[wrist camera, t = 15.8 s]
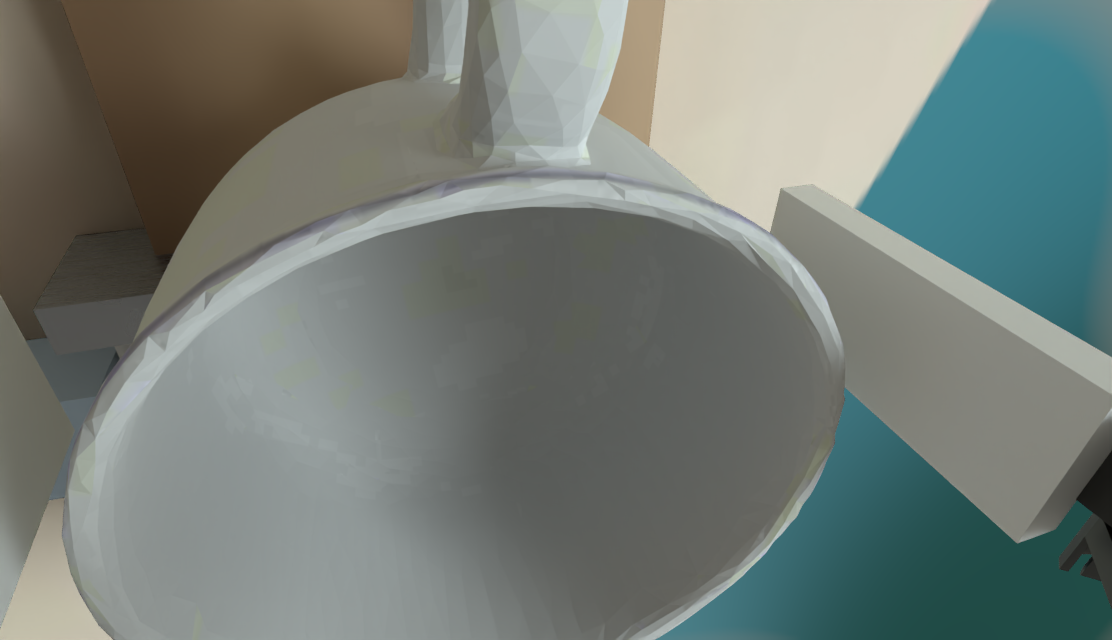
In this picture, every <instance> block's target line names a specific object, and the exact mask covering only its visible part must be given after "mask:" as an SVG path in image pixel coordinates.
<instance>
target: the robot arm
mask: <svg viewBox="0 0 1112 640" xmlns="http://www.w3.org/2000/svg"><path fill="white" fill-rule="evenodd" d="M770 233H771V234H772V235H773V236H774V237H775V238H776V239H777V240H778V241H779V242H780V243H781V244H782V245H783V246H784V247H785V248H786V249H787V250H788V251H789V252H790V253H791V254H792V255H793V256H794V257H795V258H796V259H797V260H798V261H799V262H800V263H801V264H802V265H803V266H804V267H805V269H806V270H807V271H808V272H809V274H810V275H811V276H812V278H813V279H814V280H815V281H816V283H817V285H818V286H819V288H820V289H821V291H822V293H823V294H824V296H825V297H826V299H827V302H828V305H829V308H830V311H831V314H832V316H833V319H834V321H835V324H836V326H837V329H838V331H839V334H840V337H841V339H842V342H843V347H844V357H845V386H844V387H845V388H847V389H848V390H849V391H850V392H851V393H852V394H853V395H854V396H855V397H856V398H858V399H859V400H860V401H861V402H862V403H863V404H864V405H865V406H866V407H867V408H869V409H870V410H871V411H872V412H873V413H874V414H875V415H876V416H877V417H878V418H880V419H881V420H882V421H883V422H884V423H885V424H886V425H887V426H888V427H890V428H891V429H892V430H893V431H894V432H895V433H896V434H897V435H898V436H900V437H901V438H902V439H903V440H904V441H905V442H906V443H907V444H908V445H909V446H911V447H912V448H913V449H914V450H915V451H916V452H917V453H918V454H919V455H920V456H921V457H923V458H924V459H925V460H926V461H927V462H928V463H929V464H930V465H932V466H933V467H934V468H935V469H936V470H937V471H938V472H939V473H940V474H941V475H942V476H944V477H945V478H946V479H947V480H948V481H949V482H950V483H951V484H953V485H954V486H955V487H956V488H957V489H958V490H959V491H960V492H961V493H963V494H964V495H965V496H966V497H967V498H968V499H969V500H970V501H972V503H973V504H975V505H976V506H977V507H978V508H979V509H980V510H981V511H982V512H983V513H984V514H986V515H987V516H988V517H989V518H990V519H991V520H992V521H993V522H994V523H996V524H997V525H998V526H999V527H1000V528H1001V529H1002V530H1003V531H1004V532H1005V533H1007V534H1008V535H1009V536H1010V537H1011V538H1012V539H1013V540H1014V541H1016V543H1019V542H1022V541H1025V540H1028V539H1030V538H1033V537H1035V536H1038V535H1041V534H1043V533H1047V532H1049V531H1052V530H1055V529H1056V528H1057V526H1058V525H1059V524H1060V522H1061V521H1062V520H1063V518H1064V517H1065V515H1066V514H1067V513H1068V511H1069V510H1070V508H1071V507H1072V506H1073V505H1074V503H1075V502H1076V501H1077V500H1078V501H1079V502H1080V503H1082V504H1083V505H1084V506H1085V507H1086V508H1088V509H1089V510H1090V511H1092V512H1093V514H1092V515H1091V516H1090V518H1089V519H1088V520H1087V522H1086V523H1085V524H1084V525H1083V527H1082V528H1081V529H1080V531H1079V532H1078V533H1077V535H1076V536H1075V537H1074V538H1073V540H1072V541H1071V542H1070V544H1069V545H1068V546H1067V548H1066V549H1065V550H1064V552H1063V553H1062V554H1061V555H1060V557H1059V569H1061V570H1065V571H1069V569H1070V568H1071V567H1072V566H1073V565H1074V563H1075V562H1076V561H1077V560H1078V559H1079V557H1080V556H1081V555H1082V554H1091V555H1092V557H1091V558H1090V559H1089V561H1088V562H1087V563H1086V564H1085V565H1084V567H1083V568H1082V570H1081V573H1080V574H1081V575H1082V576H1085V577H1089V578H1092V579H1096V580H1100V581H1102V584H1103V587H1104V589H1105V592H1106V595H1107V597H1108V600H1109V603H1110V605H1111V608H1112V357H1110V356H1108V355H1106V354H1105V353H1103V352H1101V351H1100V350H1098V349H1096V348H1094V347H1092V346H1091V345H1089V344H1087V343H1086V342H1084V341H1082V340H1080V339H1079V338H1077V337H1075V336H1074V335H1072V334H1070V333H1068V332H1067V331H1065V330H1063V329H1061V328H1060V327H1058V326H1056V325H1054V324H1053V323H1051V322H1049V321H1047V320H1046V319H1044V318H1043V317H1041V316H1039V315H1037V314H1036V313H1034V312H1032V311H1030V310H1029V309H1027V308H1025V307H1024V306H1022V305H1020V304H1018V303H1017V302H1015V301H1013V300H1011V299H1010V298H1008V297H1006V296H1004V295H1002V294H1001V293H999V292H998V291H996V290H994V289H992V288H991V287H989V286H987V285H985V284H984V283H982V282H980V281H979V280H977V279H975V278H973V277H972V276H970V275H968V274H966V273H965V272H963V271H961V270H960V269H958V268H956V267H954V266H952V265H951V264H949V263H947V262H946V261H944V260H942V259H941V258H939V257H937V256H935V255H934V254H932V253H930V252H928V251H927V250H925V249H923V248H921V247H920V246H918V245H916V244H915V243H913V242H911V241H909V240H908V239H906V238H904V237H903V236H901V235H899V234H897V233H896V232H894V231H892V230H890V229H889V228H887V227H885V226H883V225H882V224H880V223H878V222H877V221H875V220H873V219H871V218H870V217H868V216H866V215H864V214H863V213H861V212H859V211H858V210H856V209H854V208H852V207H851V206H849V205H847V204H845V203H844V202H842V201H840V200H839V199H837V198H835V197H833V196H832V195H830V194H828V193H826V192H825V191H823V190H821V189H820V188H818V187H816V186H814V185H813V184H811V185H803V186H796V187H788V188H781V190H780V194H779V198H778V202H777V207H776V211H775V215H774V219H773V223H772V227H771V231H770ZM74 432H75V429H74V428H73V426H72V424H71V422H70V420H69V418H68V417H67V415H66V413H65V411H64V409H63V408H62V406H61V404H60V402H59V400H58V398H57V397H56V395H55V393H54V391H53V389H52V388H51V386H50V384H49V382H48V380H47V378H46V377H45V375H44V373H43V371H42V369H41V368H40V366H39V364H38V362H37V360H36V358H35V357H34V355H33V353H32V351H31V349H30V348H29V346H28V344H27V342H26V340H25V338H24V337H23V335H22V333H21V331H20V329H19V328H18V326H17V324H16V322H15V320H14V318H13V317H12V315H11V313H10V311H9V309H8V307H7V306H6V304H5V302H4V300H3V298H2V297H1V295H0V628H1V625H2V623H3V620H4V617H5V615H6V612H7V609H8V607H9V604H10V601H11V599H12V596H13V593H14V591H15V588H16V585H17V583H18V580H19V577H20V575H21V572H22V570H23V567H24V564H25V562H26V559H27V556H28V554H29V551H30V548H31V546H32V543H33V540H34V538H35V535H36V532H37V530H38V527H39V524H40V522H41V519H42V517H43V514H44V511H45V509H46V506H47V503H48V501H49V498H50V495H51V493H52V490H53V487H54V485H55V482H56V479H57V477H58V474H59V471H60V469H61V466H62V463H63V461H64V458H65V456H66V453H67V450H68V448H69V445H70V442H71V440H72V437H73V434H74Z"/></svg>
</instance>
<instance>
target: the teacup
mask: <svg viewBox="0 0 1112 640" xmlns="http://www.w3.org/2000/svg"><path fill="white" fill-rule="evenodd" d="M628 1H629V0H413V29H412V38H411V45H410V52H409V60H408V68H407V72H406V73H405V74H404V76H403V77H402V78H397V79H392V80H387V81H382V82H378V83H375V84H372V85H368V86H365V87H362V88H358V89H355V90H352V91H348V92H346V93H343V94H341V95H338V96H335V97H333V98H330V99H328V100H326V101H324V102H322V103H320V104H318V105H316V106H314V107H312V108H310V109H308V110H306V111H304V112H302V113H300V114H299V115H297V116H295V117H294V118H292V119H291V120H289V121H287V122H286V123H284V124H283V125H281V126H279V127H278V128H276V129H274V130H273V131H272V132H271V133H269V134H268V135H267V136H266V137H265V138H264V139H262V140H261V141H260V142H259V143H258V144H256V145H255V146H254V147H253V148H252V149H251V150H249V151H248V152H247V153H246V154H245V155H244V156H243V157H242V158H241V159H240V160H239V161H238V162H237V163H236V164H235V165H234V166H233V167H232V168H231V169H230V170H229V172H228V173H227V174H226V175H225V176H224V177H223V179H222V180H221V181H220V182H219V183H218V185H217V186H216V187H215V189H214V190H213V191H212V192H211V194H210V195H209V196H208V198H207V199H206V200H205V202H204V203H203V205H202V206H201V208H200V210H199V211H198V213H197V215H196V216H195V218H194V220H193V221H192V223H191V224H190V226H189V228H188V229H187V231H186V233H185V234H184V236H183V238H182V239H181V241H180V243H179V244H178V246H177V248H176V250H175V252H174V254H173V256H172V258H171V260H170V262H169V264H168V266H167V268H166V270H165V272H164V274H163V276H162V278H161V280H160V282H159V284H158V287H157V289H156V291H155V293H154V295H153V297H152V299H151V301H150V303H149V305H148V307H147V309H146V311H145V314H144V316H143V319H142V321H141V323H140V326H139V328H138V331H137V333H136V335H135V338H134V340H133V343H132V344H131V345H130V346H129V348H128V349H127V350H126V352H125V353H124V354H123V356H122V357H121V358H120V360H119V361H118V362H117V364H116V365H115V366H114V368H113V369H112V370H111V372H110V373H109V375H108V376H107V378H106V379H105V381H104V383H103V384H102V386H101V388H100V390H99V392H98V394H97V396H96V398H95V400H94V402H93V404H92V406H91V408H90V410H89V412H88V414H87V416H86V418H85V420H84V422H83V424H82V426H81V428H80V430H79V432H78V434H77V436H76V439H75V442H74V445H73V449H72V452H71V456H70V460H69V463H68V469H67V479H66V489H65V500H64V514H63V528H62V538H63V542H64V546H65V551H66V555H67V559H68V564H69V568H70V572H71V575H72V577H73V580H74V582H75V584H76V586H77V589H78V591H79V593H80V595H81V597H82V599H83V600H84V602H85V604H86V605H87V607H88V608H89V610H90V612H91V613H92V615H93V617H94V618H95V620H96V622H97V623H98V625H99V626H100V627H101V628H102V629H103V630H104V631H105V632H106V633H107V634H108V635H109V636H110V637H111V638H112V639H113V640H654V639H657V638H659V637H660V636H662V635H664V634H665V633H667V632H668V631H670V630H672V629H673V628H675V627H676V626H677V625H679V624H680V623H682V622H683V621H685V620H686V619H687V618H689V617H690V616H692V615H693V614H694V613H696V612H697V611H698V610H700V609H701V608H702V607H704V606H705V605H706V604H708V603H709V602H710V601H712V600H713V599H714V598H716V597H717V596H718V595H720V594H721V593H722V592H723V591H725V590H726V589H727V588H728V587H730V586H731V585H732V584H733V583H735V582H736V581H737V580H738V579H739V578H740V577H742V576H743V575H744V574H745V573H746V572H747V571H748V570H749V568H751V567H752V566H753V565H754V564H755V563H756V562H757V561H758V560H759V559H760V558H761V557H762V556H763V555H764V554H765V553H766V552H767V550H768V549H769V548H770V546H771V545H772V543H773V542H774V541H775V540H776V539H777V538H778V537H779V536H780V535H781V534H782V533H783V532H784V531H785V529H786V528H787V527H788V525H789V524H790V523H791V522H792V521H793V520H794V519H795V518H796V517H797V515H798V513H799V511H800V509H801V507H802V505H803V503H804V502H805V501H806V500H807V498H808V497H809V496H810V494H811V493H812V491H813V489H814V487H815V485H816V483H817V481H818V479H819V477H820V475H821V473H822V471H823V469H824V466H825V463H826V461H827V458H828V457H829V455H830V453H831V450H832V448H833V446H834V444H835V432H836V428H837V425H838V422H839V418H840V415H841V412H842V408H843V405H844V401H845V398H844V386H845V357H844V347H843V342H842V339H841V337H840V334H839V331H838V329H837V326H836V324H835V321H834V319H833V316H832V314H831V311H830V308H829V305H828V302H827V299H826V297H825V296H824V294H823V293H822V291H821V289H820V288H819V286H818V285H817V283H816V281H815V280H814V279H813V278H812V276H811V275H810V274H809V272H808V271H807V270H806V269H805V267H804V266H803V265H802V264H801V263H800V262H799V261H798V260H797V259H796V258H795V257H794V256H793V255H792V254H791V253H790V252H789V251H788V250H787V249H786V248H785V247H784V246H783V245H782V244H781V243H780V242H779V241H778V240H777V239H776V238H775V237H774V236H773V235H772V234H771V233H769V232H768V231H766V230H765V229H763V228H761V227H760V226H758V225H757V224H755V223H754V222H752V221H750V220H749V219H747V218H745V217H743V216H742V215H740V214H738V213H737V212H735V211H733V210H731V209H730V208H727V207H725V206H723V205H720V204H718V203H716V202H715V201H713V200H712V199H711V198H710V197H709V196H708V195H707V194H705V193H704V192H703V191H702V190H701V189H700V188H698V187H697V186H696V185H695V184H694V183H692V182H691V181H690V180H689V179H688V178H687V177H685V176H684V175H683V174H682V173H681V172H679V171H678V170H677V169H676V168H674V167H673V166H672V165H671V164H670V163H668V162H667V161H666V160H665V159H663V158H662V157H661V156H660V155H659V154H657V153H656V152H655V151H654V150H652V149H651V148H650V147H648V146H647V145H646V144H644V143H643V142H642V141H640V140H639V139H638V138H636V137H635V136H634V135H632V134H631V133H630V132H628V131H627V130H625V129H623V128H622V127H620V126H619V125H617V124H615V123H614V122H612V121H611V120H609V119H607V118H606V117H604V116H603V115H601V114H599V110H600V108H601V106H602V104H603V101H604V99H605V97H606V94H607V92H608V89H609V86H610V82H611V79H612V76H613V73H614V69H615V66H616V63H617V59H618V56H619V53H620V49H621V43H622V37H623V31H624V25H625V19H626V13H627V7H628Z"/></svg>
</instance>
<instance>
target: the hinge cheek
mask: <svg viewBox="0 0 1112 640" xmlns="http://www.w3.org/2000/svg"><path fill="white" fill-rule="evenodd" d="M173 254H174V253H171V254H163V255H155V253H154V250H153V247H152V245H151V242H150V239H149V237H148V234H147V231H146V228H144V229H135V230H126V231H117V232H108V233H99V234H90V235H81V236H76V237H75V238H74V240H73V242H72V244H71V245H70V247H69V249H68V251H67V252H66V254H65V256H64V257H63V259H62V261H61V263H60V264H59V266H58V268H57V269H56V271H55V273H54V275H53V276H52V278H51V280H50V282H49V283H48V285H47V287H46V288H45V290H44V292H43V294H42V295H41V297H40V299H39V301H38V302H37V304H36V306H35V307H34V309H33V312H34V313H35V315H36V317H37V319H38V321H39V323H40V325H41V327H42V329H43V331H44V333H45V334H46V336H47V338H48V340H49V342H50V344H51V346H52V348H53V350H54V352H55V354H56V355H62V354H68V353H75V352H81V351H88V350H94V349H100V348H107V347H113V346H120V345H126V344H132V343H133V340H134V338H135V335H136V333H137V331H138V328H139V326H140V323H141V321H142V319H143V316H144V314H145V311H146V309H147V307H148V305H149V303H150V301H151V299H152V297H153V295H154V293H155V291H156V289H157V287H158V284H159V282H160V280H161V278H162V276H163V274H164V272H165V270H166V268H167V266H168V264H169V262H170V260H171V258H172V256H173Z"/></svg>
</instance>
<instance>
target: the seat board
mask: <svg viewBox="0 0 1112 640" xmlns="http://www.w3.org/2000/svg"><path fill="white" fill-rule="evenodd" d="M61 3H62V5H63V8H64V11H65V13H66V16H67V19H68V21H69V24H70V27H71V29H72V32H73V35H74V38H75V40H76V43H77V46H78V48H79V51H80V54H81V56H82V59H83V62H84V64H85V67H86V70H87V73H88V75H89V78H90V81H91V83H92V86H93V89H94V91H95V94H96V97H97V99H98V102H99V105H100V107H101V110H102V113H103V116H104V118H105V121H106V124H107V126H108V129H109V132H110V134H111V137H112V140H113V142H114V145H115V148H116V150H117V153H118V156H119V159H120V161H121V164H122V167H123V169H124V172H125V175H126V177H127V180H128V183H129V185H130V188H131V191H132V193H133V196H134V199H135V202H136V204H137V207H138V210H139V212H140V215H141V218H142V220H143V223H144V226H145V228H146V231H147V234H148V237H149V239H150V242H151V245H152V247H153V250H154V253H155V255H163V254H171V253H174V252H175V250H176V248H177V246H178V244H179V243H180V241H181V239H182V238H183V236H184V234H185V233H186V231H187V229H188V228H189V226H190V224H191V223H192V221H193V220H194V218H195V216H196V215H197V213H198V211H199V210H200V208H201V206H202V205H203V203H204V202H205V200H206V199H207V198H208V196H209V195H210V194H211V192H212V191H213V190H214V189H215V187H216V186H217V185H218V183H219V182H220V181H221V180H222V179H223V177H224V176H225V175H226V174H227V173H228V172H229V170H230V169H231V168H232V167H233V166H234V165H235V164H236V163H237V162H238V161H239V160H240V159H241V158H242V157H243V156H244V155H245V154H246V153H247V152H248V151H249V150H251V149H252V148H253V147H254V146H255V145H256V144H258V143H259V142H260V141H261V140H262V139H264V138H265V137H266V136H267V135H268V134H269V133H271V132H272V131H273V130H274V129H276V128H278V127H279V126H281V125H283V124H284V123H286V122H287V121H289V120H291V119H292V118H294V117H295V116H297V115H299V114H300V113H302V112H304V111H306V110H308V109H310V108H312V107H314V106H316V105H318V104H320V103H322V102H324V101H326V100H328V99H330V98H333V97H335V96H338V95H341V94H343V93H346V92H348V91H352V90H355V89H358V88H362V87H365V86H368V85H372V84H375V83H378V82H382V81H387V80H392V79H397V78H402V77H403V76H404V74H405V73H406V72H407V68H408V60H409V52H410V45H411V38H412V29H413V0H61ZM664 7H665V0H629V1H628V7H627V13H626V19H625V25H624V31H623V37H622V43H621V49H620V53H619V56H618V59H617V63H616V66H615V69H614V73H613V76H612V79H611V82H610V86H609V89H608V92H607V94H606V97H605V99H604V101H603V104H602V106H601V108H600V110H599V114H601V115H603V116H604V117H606V118H607V119H609V120H611V121H612V122H614V123H615V124H617V125H619V126H620V127H622V128H623V129H625V130H627V131H628V132H630V133H631V134H632V135H634V136H635V137H636V138H638V139H639V140H640V141H642V142H643V143H644V144H646V145H647V146H648V147H649V141H650V132H651V123H652V114H653V105H654V96H655V87H656V78H657V69H658V60H659V52H660V43H661V34H662V25H663V16H664Z"/></svg>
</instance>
